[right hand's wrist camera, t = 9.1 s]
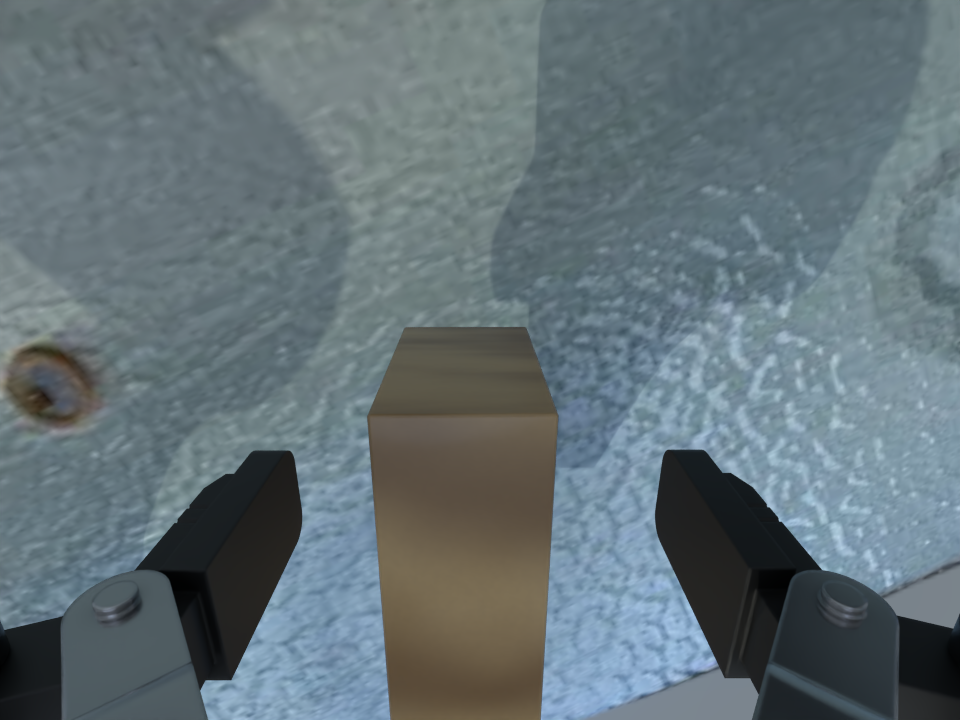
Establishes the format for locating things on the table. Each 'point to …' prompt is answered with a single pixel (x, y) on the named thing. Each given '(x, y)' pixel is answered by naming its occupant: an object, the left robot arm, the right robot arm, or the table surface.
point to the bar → (464, 522)
